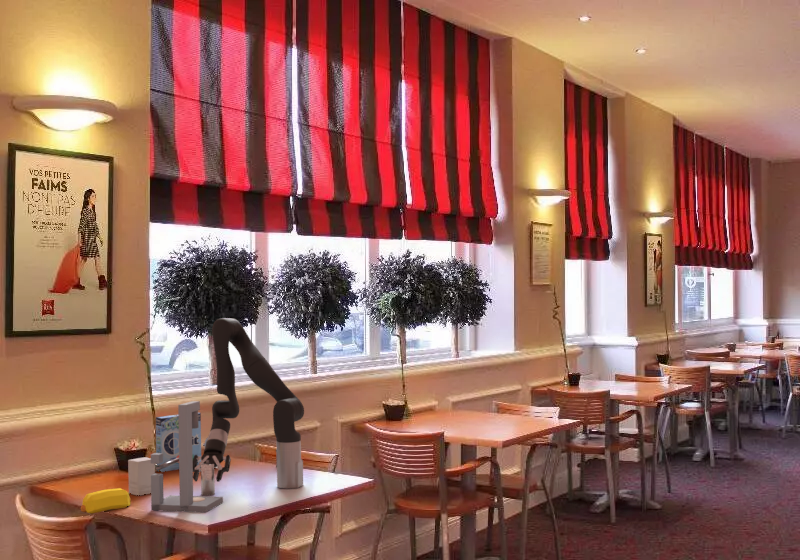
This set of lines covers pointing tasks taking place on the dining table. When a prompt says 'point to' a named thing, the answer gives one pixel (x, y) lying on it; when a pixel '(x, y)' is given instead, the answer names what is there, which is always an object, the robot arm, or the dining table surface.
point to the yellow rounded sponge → (105, 500)
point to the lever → (167, 464)
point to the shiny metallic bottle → (207, 479)
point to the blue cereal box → (174, 439)
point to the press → (182, 469)
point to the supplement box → (140, 475)
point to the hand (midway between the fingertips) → (206, 480)
